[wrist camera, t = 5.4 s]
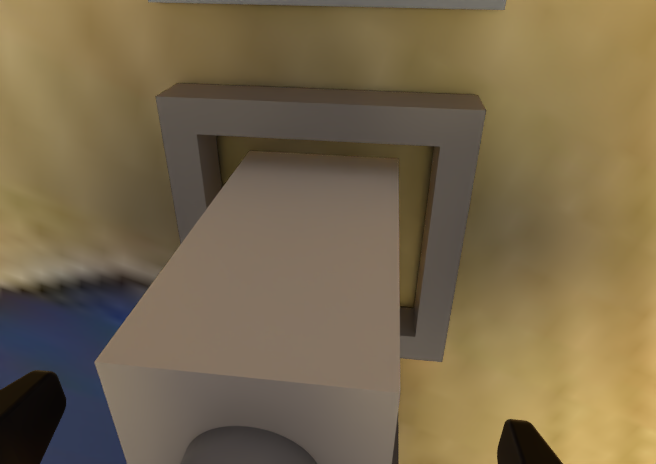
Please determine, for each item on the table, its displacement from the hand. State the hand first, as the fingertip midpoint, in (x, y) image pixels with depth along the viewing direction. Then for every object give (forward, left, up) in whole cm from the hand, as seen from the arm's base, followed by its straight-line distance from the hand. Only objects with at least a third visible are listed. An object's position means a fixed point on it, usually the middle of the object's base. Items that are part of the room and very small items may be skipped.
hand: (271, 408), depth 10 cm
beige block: (0, 0, -8) cm, 8 cm away
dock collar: (0, 0, -8) cm, 8 cm away
